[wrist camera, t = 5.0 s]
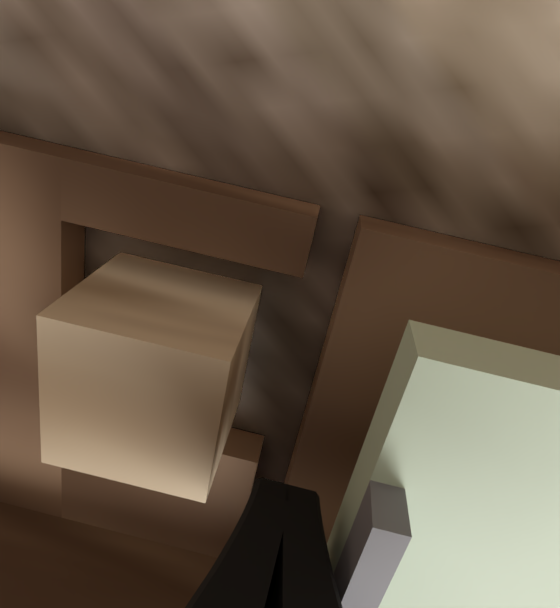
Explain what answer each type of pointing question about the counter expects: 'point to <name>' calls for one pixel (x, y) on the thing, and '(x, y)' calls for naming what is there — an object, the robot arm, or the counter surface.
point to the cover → (456, 480)
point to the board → (240, 444)
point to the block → (144, 373)
